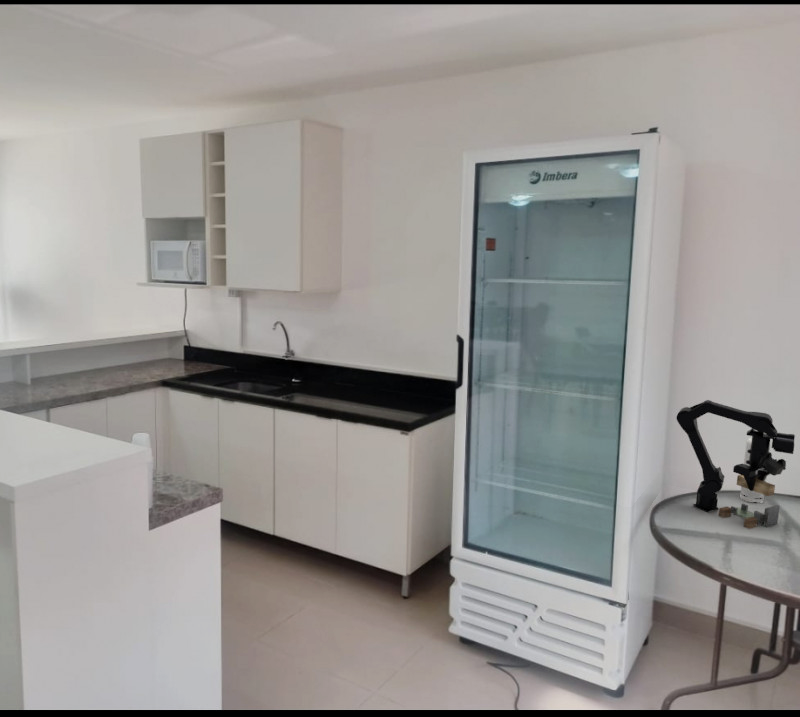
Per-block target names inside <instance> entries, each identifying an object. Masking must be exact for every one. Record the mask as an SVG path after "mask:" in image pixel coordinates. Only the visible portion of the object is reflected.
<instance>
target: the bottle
mask: <svg viewBox="0 0 800 717" xmlns="http://www.w3.org/2000/svg"><path fill="white" fill-rule="evenodd" d="M754 430H755V429H754ZM755 431H757V430H755ZM764 434H765V433H764ZM751 442H752V437H750V438H748V439H747V440H746V445H745V452H744V459H743V460H744V461H743V464H745V465H748V466H750V465H749V464H747V463H746V461H747V460H749V458H750V453H747V452H748V450H749V449H751ZM771 447H772V444H770V446H769V452H770V453H771ZM764 481H765V482H767V477H766V478H765V480H764ZM743 495H745V496H743ZM764 496H765V495H763V494H760V493H758V492H755V491H750V490H749V489H747V488H745V487H742V486H740V493H739V498H740V499H741V500H742V499H743V500H742V501H744V500H745V502H747V501H749V502H748V503H750V502H761V501H763V500H764V499H765V497H764ZM760 498H762V499H760ZM763 502H764V501H763Z"/></svg>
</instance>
